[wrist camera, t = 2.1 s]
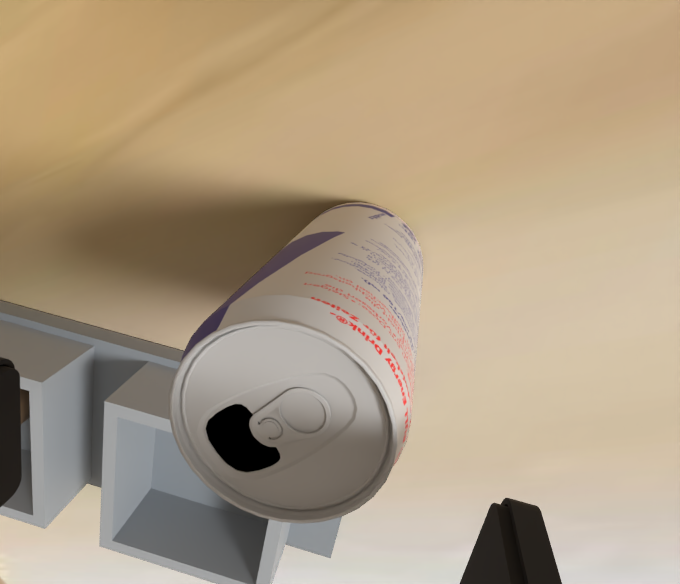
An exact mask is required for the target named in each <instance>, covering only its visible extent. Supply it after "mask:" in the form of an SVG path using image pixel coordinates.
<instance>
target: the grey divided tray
mask: <svg viewBox="0 0 680 584" xmlns="http://www.w3.org/2000/svg"><path fill="white" fill-rule="evenodd" d="M183 353H184V351H181V350H178V349H174V348H171V347H167V346H163V345H160V344H156V343H153V342H149V341H145V340H142V339H138V338H135V337H131V336H127V335H124V334H120V333H117V332H113V331H109V330H106V329H102V328H98V327H95V326H91V325H88V324H84V323H80V322H77V321H73V320H70V319H66V318H62V317H59V316H55V315H52V314H48V313H44V312H41V311H37V310H34V309H30V308H26V307H23V306H19V305H15V304H12V303H8V302H5V301H1V300H0V357H2V358H6V359H9V360H11V361H12V362H13V364H14V366H15V369H16V370H18V372H19V374H20V409H21V466H22V478H21V482H20V485H19V487H18V489H17V491H16V492H15V494H14V495H13V496H12V497H11V498H10V499H9V500H8V501H7V502H6V503H5V504H4V505H2V506H1V507H0V515H3V516H6V517H10V518H13V519H16V520H19V521H22V522H25V523H28V524H32V525H35V526H38V527H41V528H44V529H45V528H46V527H47V526H48V525H49V524H50V523H51V522H52V521H53V520H54V518H55V517H56V516H57V515H58V514H59V513H60V512H61V511H62V510H63V509H64V508H65V507H66V505H67V504H68V503H69V502H70V501H71V500H72V499H73V498H74V497H75V496H76V495H77V494H78V493H79V491H80V490H81V489H82V488H83V487H84V486H85V485H86V484H87V483H88V484H91V485H94V486H98V487H101V517H100V547H103V548H107V549H110V550H113V551H116V552H119V553H122V554H125V555H128V556H132V557H135V558H138V559H141V560H144V561H147V562H150V563H153V564H157V565H160V566H163V567H166V568H169V569H172V570H175V571H178V572H182V573H185V574H188V575H191V576H194V577H197V578H200V579H204V580H207V581H210V582H213V583H216V584H272V582H273V579H274V576H275V573H276V570H277V567H278V564H279V561H280V558H281V555H282V553H283V550H284V547H285V544H286V545H289V546H292V547H296V548H299V549H302V550H305V551H309V552H312V553H315V554H318V555H322V556H325V557H328V558H331V554H332V551H333V547H334V543H335V540H336V536H337V532H338V528H339V525H340V521H341V517H338V518H335V519H331V520H327V521H323V522H315V523H303V524H300V523H288V522H279V521H275V520H271V519H266V518H262V517H259V516H256V515H254V514H252V513H249V512H247V511H244V510H242V509H240V508H238V507H236V506H234V505H233V504H231V503H229V502H228V501H226V500H224V499H223V498H221V497H220V496H219V495H217V494H216V493H215V492H214V491H213V490H211V489H210V488H209V487H208V486H206V485H205V484H204V483H203V481H202V480H201V479H200V478H199V477H198V476H197V475H196V474H195V473H194V472H193V470H192V469H191V468H190V466H189V465H188V463H187V462H186V460H185V458H184V457H183V455H182V454H181V452H180V450H179V447H178V445H177V443H176V440H175V438H174V436H173V432H172V428H171V423H170V418H169V394H170V389H171V385H172V381H173V377H174V375H175V373H176V371H177V369H178V367H179V365H180V363H181V359H182V355H183Z"/></svg>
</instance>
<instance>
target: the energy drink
mask: <svg viewBox="0 0 680 584" xmlns="http://www.w3.org/2000/svg"><path fill="white" fill-rule="evenodd" d="M422 281H423V257H422V252H421V248H420V245H419V243H418V241H417V239H416V236H415V234H414V233H413V232H412V230H411V229H410V228H409V226H408V225H407V224H406V223H405V222H404V221H403V220H402V219H401V218H400V217H399V216H397V215H396V214H394V213H392V212H391V211H389V210H387V209H385V208H383V207H380V206H377V205H375V204H369V203H363V202H356V203H345V204H341V205H337V206H334V207H332V208H330V209H328V210H326V211H324V212H323V213H321V214H320V215H319V216H318V217H316V218H315V219H314V220H313V221H312V222H311V223H309V224H308V225H307V226H306V227H305V228H304V229H303V230H302V231H301V232H300V233H299V234H298V235H297V236H296V237H294V238H293V239H292V240H291V241H290V242H289V243H288V244H287V245H286V246H285V247H284V248H283V249H282V250H280V251H279V252H278V253H277V254H276V255H275V256H274V257H273V258H272V259H271V260H270V261H269V262H268V263H267V264H265V265H264V266H263V267H262V268H261V269H260V270H259V271H258V272H257V273H256V274H255V275H254V276H253V277H251V278H250V279H249V280H248V281H247V282H246V283H245V284H244V285H243V286H242V287H241V288H240V289H239V290H238V291H236V292H235V293H234V294H233V295H232V296H231V297H230V298H229V299H228V300H227V301H226V302H225V303H224V304H222V305H221V306H220V307H219V308H218V309H217V310H216V311H215V312H214V313H213V314H212V315H211V316H210V317H209V318H207V319H206V320H205V321H204V322H203V324H202V325H201V326H200V327H199V328H198V330H197V331H196V332H195V333H194V334H193V336H192V337H191V339H190V341H189V343H188V345H187V347H186V349H185V351H184V353H183V355H182V359H181V363H180V365H179V367H178V369H177V371H176V373H175V375H174V377H173V381H172V385H171V389H170V394H169V418H170V423H171V428H172V432H173V436H174V438H175V440H176V443H177V445H178V447H179V450H180V452H181V454H182V455H183V457H184V458H185V460H186V462H187V463H188V465H189V466H190V468H191V469H192V470H193V472H194V473H195V474H196V475H197V476H198V477H199V478H200V479H201V480H202V481H203V483H204V484H205V485H206V486H208V487H209V488H210V489H211V490H213V491H214V492H215V493H216V494H217V495H219V496H220V497H221V498H223V499H224V500H226V501H228V502H229V503H231V504H233V505H234V506H236V507H238V508H240V509H242V510H244V511H247V512H249V513H252V514H254V515H256V516H259V517H262V518H266V519H271V520H275V521H279V522H288V523H300V524H303V523H315V522H323V521H327V520H331V519H335V518H338V517H342V516H344V515H346V514H348V513H350V512H352V511H354V510H356V509H358V508H360V507H361V506H362V505H363V504H365V503H366V502H367V501H369V500H370V499H371V498H372V497H374V495H375V494H376V493H377V492H378V490H379V489H380V488H381V487H382V485H383V484H384V483H385V482H386V480H387V477H388V475H389V473H390V471H391V469H392V467H393V466H394V464H395V463H396V462H397V461H398V459H399V457H400V455H401V452H402V450H403V448H404V446H405V444H406V442H407V437H408V432H409V427H410V423H411V412H412V400H413V388H414V376H415V364H416V352H417V340H418V328H419V316H420V305H421V293H422Z"/></svg>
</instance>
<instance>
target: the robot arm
mask: <svg viewBox="0 0 680 584" xmlns="http://www.w3.org/2000/svg"><path fill="white" fill-rule="evenodd" d="M21 478H22V466H21V409H20V374H19V372H18V370H16V369H15V366H14V364H13V362H12V361H11V360H9V359H6V358H2V357H0V507H1V506H2V505H4V504H5V503H6V502H7V501H8V500H9V499H10V498H11V497H12V496H13V495H14V494H15V492H16V491H17V489H18V487H19V485H20V482H21ZM460 584H562V582H561V579H560V576H559V572H558V569H557V565H556V562H555V558H554V555H553V552H552V548H551V545H550V541H549V538H548V534H547V531H546V527H545V524H544V521H543V517H542V514H541V511H540V509H539V508H538V507H537V506H535V505H531V504H528V503H524V502H520V501H517V500H513V499H510V498H505V499H504V500H503V501H502V503H501V505H500V504H497V503H493V504H492V505H491V506H490V508H489V511H488V513H487V516H486V519H485V521H484V524H483V526H482V529H481V531H480V534H479V536H478V539H477V541H476V544H475V546H474V549H473V551H472V554H471V556H470V559H469V561H468V564H467V566H466V569H465V572H464V574H463V577H462V579H461V582H460Z"/></svg>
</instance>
